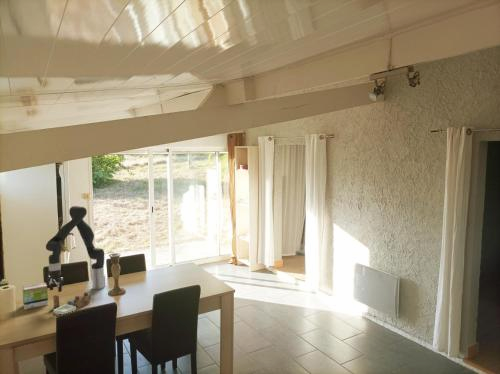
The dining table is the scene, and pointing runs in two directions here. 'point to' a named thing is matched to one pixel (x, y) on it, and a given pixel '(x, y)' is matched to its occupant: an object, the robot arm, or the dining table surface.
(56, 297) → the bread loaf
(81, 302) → the block
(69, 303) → the grey rectangular block
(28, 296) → the tea box
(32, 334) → the dining table surface
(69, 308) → the tray
